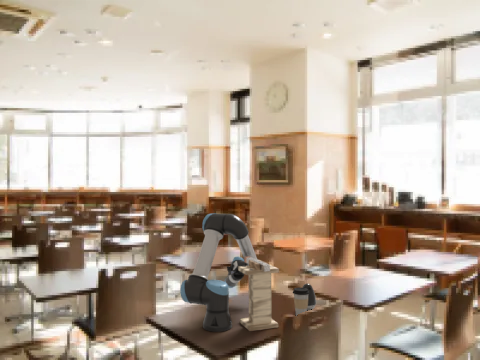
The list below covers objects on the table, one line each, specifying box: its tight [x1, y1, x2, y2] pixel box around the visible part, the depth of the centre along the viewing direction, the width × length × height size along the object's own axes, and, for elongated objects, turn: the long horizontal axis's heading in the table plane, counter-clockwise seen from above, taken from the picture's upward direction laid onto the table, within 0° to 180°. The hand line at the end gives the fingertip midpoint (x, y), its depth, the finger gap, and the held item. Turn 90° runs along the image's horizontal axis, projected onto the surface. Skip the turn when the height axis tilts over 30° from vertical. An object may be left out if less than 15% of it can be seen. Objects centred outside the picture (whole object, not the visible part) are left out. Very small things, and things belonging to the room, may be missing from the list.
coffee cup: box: [292, 287, 309, 317], centre depth 229 cm, size 9×9×15 cm
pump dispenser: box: [301, 283, 317, 311], centre depth 242 cm, size 10×10×15 cm
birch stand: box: [238, 259, 280, 332], centre depth 214 cm, size 14×18×33 cm
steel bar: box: [244, 256, 271, 272], centre depth 217 cm, size 28×3×3 cm, turn 20°
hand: (247, 262), depth 232 cm, fingers open, 13 cm apart
